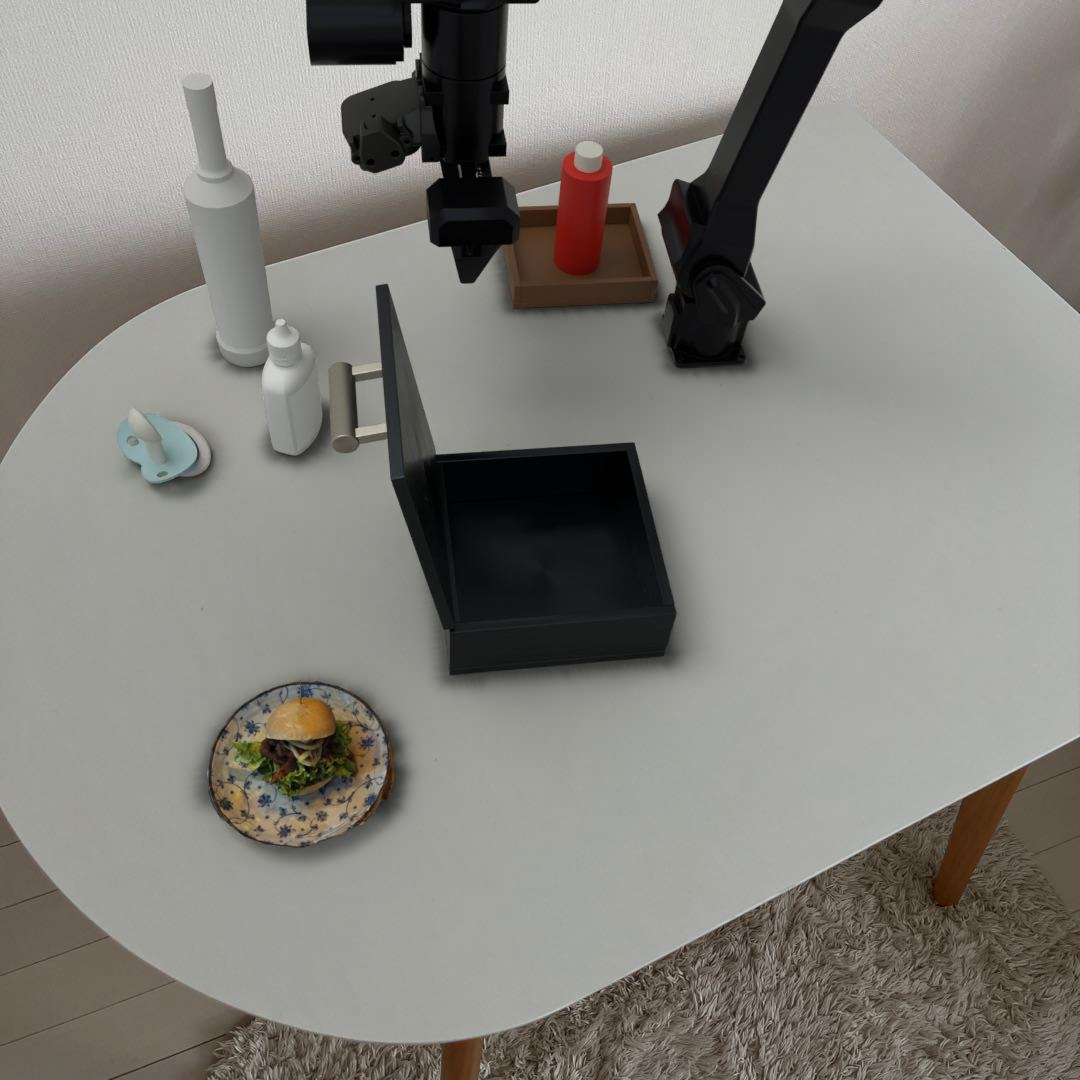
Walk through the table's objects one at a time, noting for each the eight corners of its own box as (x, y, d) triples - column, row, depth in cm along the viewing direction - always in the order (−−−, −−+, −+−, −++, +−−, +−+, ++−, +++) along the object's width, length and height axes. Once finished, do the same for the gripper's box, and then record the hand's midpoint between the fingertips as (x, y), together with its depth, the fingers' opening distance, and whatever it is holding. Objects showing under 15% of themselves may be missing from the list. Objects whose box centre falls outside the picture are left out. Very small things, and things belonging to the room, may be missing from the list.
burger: (174, 810, 72) (149, 760, 65) (274, 666, 78) (259, 609, 72) (338, 890, 69) (327, 846, 63) (426, 734, 76) (424, 681, 70)
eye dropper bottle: (342, 429, 91) (330, 320, 82) (287, 464, 89) (267, 356, 79) (308, 400, 93) (292, 289, 83) (253, 433, 90) (230, 324, 81)
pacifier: (178, 415, 91) (112, 448, 88) (165, 359, 86) (94, 393, 84) (229, 468, 88) (161, 504, 86) (218, 413, 83) (146, 450, 81)
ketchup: (595, 243, 106) (610, 133, 97) (603, 274, 104) (619, 164, 94) (550, 245, 106) (560, 134, 96) (556, 276, 103) (568, 165, 94)
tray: (631, 224, 109) (635, 202, 107) (654, 302, 103) (658, 280, 101) (498, 229, 108) (499, 206, 106) (513, 308, 101) (514, 286, 99)
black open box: (625, 488, 90) (634, 441, 85) (664, 656, 81) (677, 613, 76) (431, 502, 88) (430, 454, 83) (449, 675, 79) (449, 633, 74)
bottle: (268, 374, 94) (219, 109, 74) (209, 362, 95) (145, 95, 75) (288, 333, 97) (247, 67, 77) (231, 321, 98) (175, 54, 78)
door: (387, 282, 69) (318, 295, 69) (404, 477, 60) (324, 491, 60) (435, 449, 83) (377, 459, 83) (455, 628, 74) (390, 640, 74)
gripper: (338, -14, 79) (353, 172, 92) (348, 143, 69) (363, 330, 81) (493, -15, 81) (487, 169, 94) (527, 139, 70) (514, 323, 83)
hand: (461, 243), depth 88 cm, fingers open, 9 cm apart
